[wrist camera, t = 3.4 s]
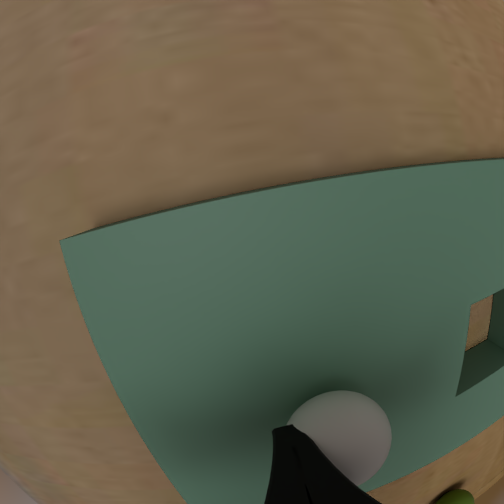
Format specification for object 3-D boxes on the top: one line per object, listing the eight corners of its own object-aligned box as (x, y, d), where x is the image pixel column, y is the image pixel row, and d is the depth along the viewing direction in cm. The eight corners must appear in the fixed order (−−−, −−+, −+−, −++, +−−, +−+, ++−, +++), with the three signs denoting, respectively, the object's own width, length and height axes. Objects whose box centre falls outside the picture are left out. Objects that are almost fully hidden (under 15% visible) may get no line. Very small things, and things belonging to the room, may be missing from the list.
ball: (320, 433, 12) (402, 443, 10) (273, 494, 9) (368, 518, 6) (305, 366, 12) (403, 370, 9) (246, 429, 8) (366, 455, 6)
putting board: (496, 386, 17) (517, 403, 14) (205, 492, 15) (205, 526, 12) (516, 157, 13) (550, 157, 10) (93, 228, 11) (59, 240, 9)
